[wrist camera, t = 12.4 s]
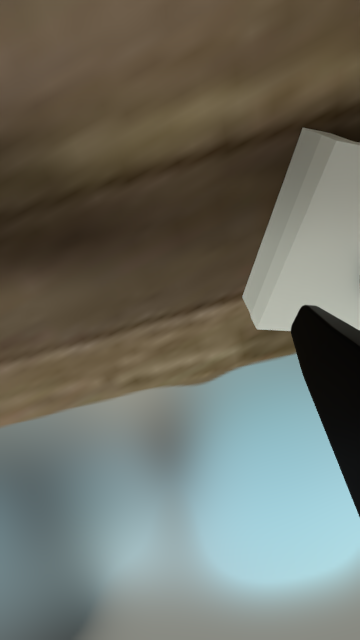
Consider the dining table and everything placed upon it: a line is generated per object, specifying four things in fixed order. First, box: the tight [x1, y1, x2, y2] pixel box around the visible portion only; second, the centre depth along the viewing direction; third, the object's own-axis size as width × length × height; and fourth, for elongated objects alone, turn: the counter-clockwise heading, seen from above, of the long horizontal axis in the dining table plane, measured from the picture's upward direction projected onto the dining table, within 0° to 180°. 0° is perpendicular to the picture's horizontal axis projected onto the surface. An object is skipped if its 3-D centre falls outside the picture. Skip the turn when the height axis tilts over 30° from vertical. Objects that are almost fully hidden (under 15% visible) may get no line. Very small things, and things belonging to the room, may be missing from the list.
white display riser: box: [242, 128, 360, 331], centre depth 22 cm, size 12×12×4 cm
